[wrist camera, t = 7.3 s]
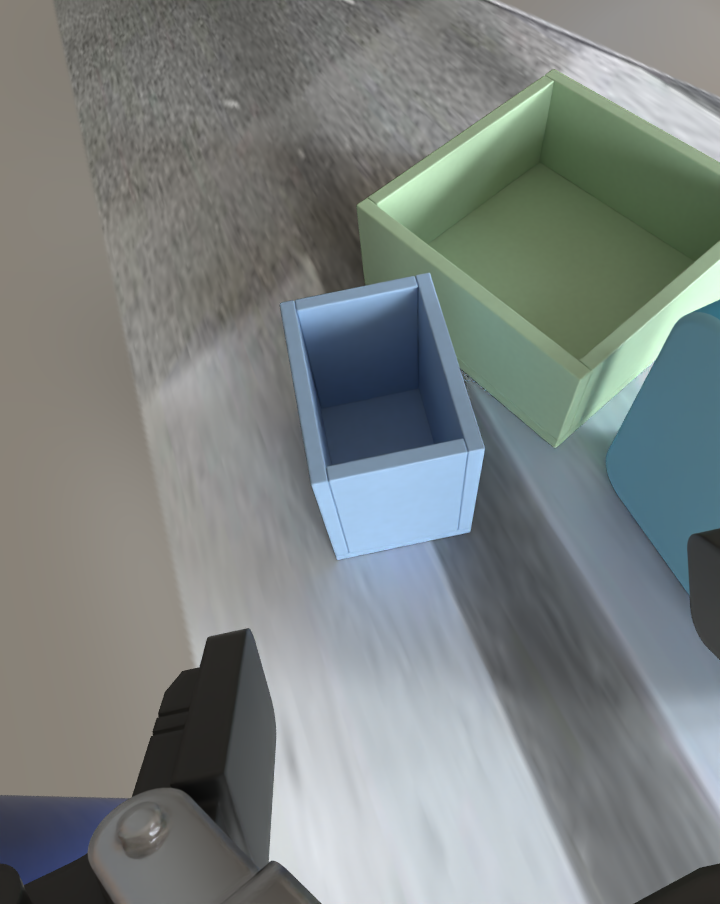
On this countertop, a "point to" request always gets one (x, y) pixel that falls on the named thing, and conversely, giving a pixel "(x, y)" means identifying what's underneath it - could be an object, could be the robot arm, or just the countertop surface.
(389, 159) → the countertop surface
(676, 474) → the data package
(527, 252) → the green tote
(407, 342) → the small bin
